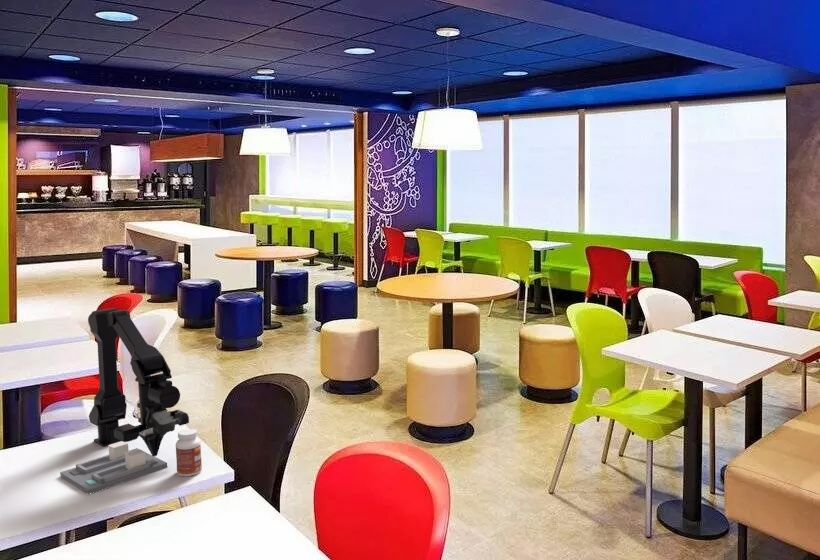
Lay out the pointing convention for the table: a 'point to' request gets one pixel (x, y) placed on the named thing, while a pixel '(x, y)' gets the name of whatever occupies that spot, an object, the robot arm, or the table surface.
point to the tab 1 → (118, 450)
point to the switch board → (108, 472)
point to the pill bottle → (188, 453)
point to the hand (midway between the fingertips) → (154, 455)
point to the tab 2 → (135, 458)
